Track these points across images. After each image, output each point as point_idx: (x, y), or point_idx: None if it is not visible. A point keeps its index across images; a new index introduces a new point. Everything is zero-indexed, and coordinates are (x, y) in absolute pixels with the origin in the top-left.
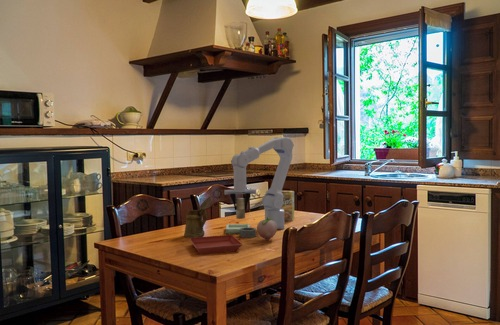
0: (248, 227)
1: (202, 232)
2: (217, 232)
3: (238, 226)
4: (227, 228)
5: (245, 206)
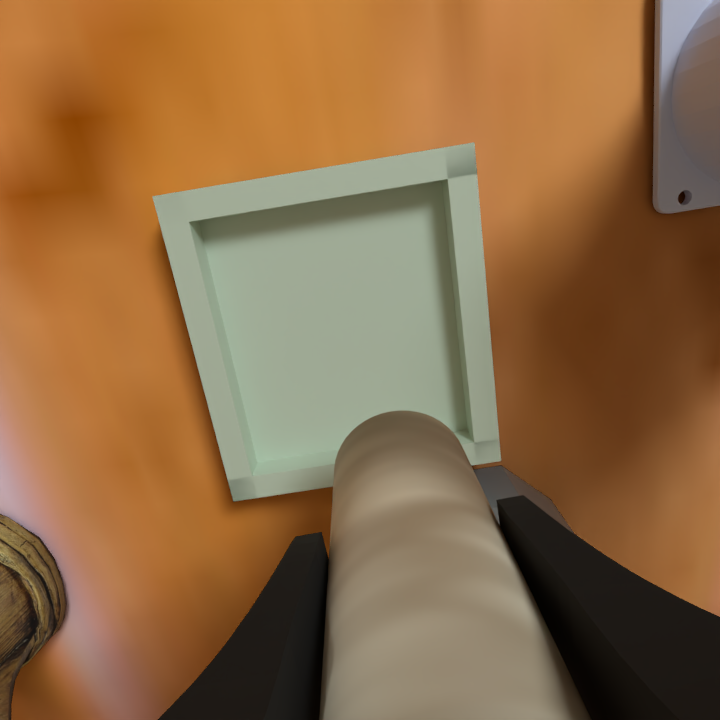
0: (495, 508)
1: (42, 638)
2: (137, 427)
3: (322, 201)
4: (240, 458)
5: None
